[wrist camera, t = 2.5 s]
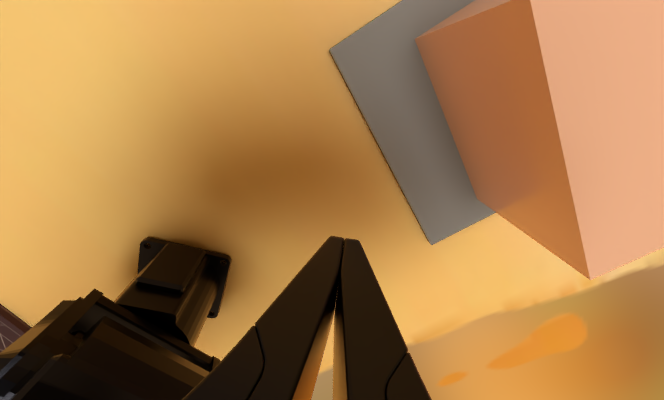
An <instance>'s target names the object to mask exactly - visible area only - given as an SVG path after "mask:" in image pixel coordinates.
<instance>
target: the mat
mask: <svg viewBox="0 0 664 400" xmlns="http://www.w3.org/2000/svg"><path fill="white" fill-rule="evenodd" d="M473 1H475V0H402V1H401V2H399V3H398V4H396V5H395V6H393V7H392V8H390V9H389V10H387V11H386V12H384V13H383V14H381V15H380V16H378V17H377V18H375V19H374V20H372V21H371V22H369V23H368V24H366V25H365V26H363V27H362V28H360V29H359V30H358V31H356V32H355V33H353V34H352V35H350V36H349V37H347V38H346V39H344V40H343V41H341V42H340V43H338V44H337V45H335V46H334V47H332V48H331V49H329V52H330V54H331V55H332V57H333V59H334V61H335V63H336V65H337V67H338V69H339V71H340V73H341V75H342V77H343V78H344V80H345V82H346V84H347V86H348V88H349V90H350V92H351V94H352V96H353V98H354V100H355V101H356V103H357V105H358V107H359V109H360V111H361V113H362V115H363V117H364V119H365V121H366V123H367V124H368V126H369V128H370V130H371V132H372V134H373V136H374V138H375V140H376V142H377V144H378V146H379V147H380V149H381V151H382V153H383V155H384V157H385V159H386V161H387V163H388V165H389V167H390V169H391V170H392V172H393V174H394V176H395V178H396V180H397V182H398V184H399V186H400V188H401V190H402V192H403V193H404V195H405V197H406V199H407V201H408V203H409V205H410V207H411V209H412V211H413V213H414V215H415V216H416V218H417V220H418V222H419V224H420V226H421V228H422V230H423V232H424V234H425V236H426V238H427V239H428V241H429V243H430V244H431V245H433V244H435V243H437V242H439V241H441V240H443V239H445V238H447V237H449V236H451V235H453V234H455V233H457V232H459V231H461V230H463V229H465V228H467V227H468V226H470V225H472V224H474V223H476V222H478V221H480V220H482V219H484V218H486V217H488V216H490V215H492V214H494V213H496V212H495V211H493V210H492V209H491V208H489V207H488V206H486V205H485V204H484V203H482V202H481V201H479V200H478V199H477V197H476V195H475V192H474V190H473V187H472V185H471V182H470V179H469V177H468V174H467V172H466V169H465V167H464V164H463V162H462V159H461V156H460V154H459V151H458V149H457V146H456V144H455V141H454V139H453V136H452V133H451V131H450V128H449V126H448V123H447V121H446V118H445V116H444V113H443V110H442V108H441V105H440V103H439V100H438V98H437V95H436V93H435V90H434V87H433V85H432V82H431V80H430V77H429V75H428V72H427V70H426V67H425V65H424V62H423V59H422V57H421V54H420V52H419V49H418V47H417V44H416V42H415V38H417V37H418V36H420V35H421V34H423V33H425V32H426V31H428V30H429V29H431V28H432V27H434V26H435V25H437V24H439V23H440V22H442V21H443V20H445V19H446V18H448V17H449V16H451V15H453V14H454V13H456V12H457V11H459V10H460V9H462V8H463V7H465V6H467V5H468V4H470V3H471V2H473Z"/></svg>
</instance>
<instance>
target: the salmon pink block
mask: <svg viewBox="0 0 664 400" xmlns="http://www.w3.org/2000/svg"><path fill="white" fill-rule="evenodd" d="M415 42H416V44H417V47H418V49H419V52H420V54H421V57H422V59H423V62H424V65H425V67H426V70H427V72H428V75H429V77H430V80H431V82H432V85H433V87H434V90H435V93H436V95H437V98H438V100H439V103H440V105H441V108H442V110H443V113H444V116H445V118H446V121H447V123H448V126H449V128H450V131H451V133H452V136H453V139H454V141H455V144H456V146H457V149H458V151H459V154H460V156H461V159H462V162H463V164H464V167H465V169H466V172H467V174H468V177H469V179H470V182H471V185H472V187H473V190H474V192H475V195H476V197H477V199H478V200H479V201H481V202H482V203H484V204H485V205H486V206H488V207H489V208H491V209H492V210H493V211H495V212H496V213H498V214H499V215H500V216H502V217H503V218H505V219H506V220H507V221H509V222H510V223H512V224H513V225H514V226H516V227H517V228H519V229H520V230H521V231H523V232H524V233H525V234H527V235H528V236H530V237H531V238H532V239H534V240H535V241H537V242H538V243H539V244H541V245H542V246H544V247H545V248H546V249H548V250H549V251H551V252H552V253H553V254H555V255H556V256H558V257H559V258H560V259H562V260H563V261H565V262H566V263H567V264H569V265H570V266H572V267H573V268H574V269H576V270H577V271H579V272H580V273H581V274H583V275H584V276H586V277H587V278H588V279H590V280H591V279H594V278H596V277H598V276H601V275H603V274H605V273H607V272H610V271H612V270H614V269H616V268H619V267H621V266H623V265H625V264H628V263H630V262H632V261H634V260H637V259H639V258H641V257H643V256H646V255H648V254H650V253H652V252H655V251H657V250H659V249H661V248H664V0H475V1H473V2H471V3H470V4H468V5H467V6H465V7H463V8H462V9H460V10H459V11H457V12H456V13H454V14H453V15H451V16H449V17H448V18H446V19H445V20H443V21H442V22H440V23H439V24H437V25H435V26H434V27H432V28H431V29H429V30H428V31H426V32H425V33H423V34H421V35H420V36H418V37H417V38H415Z"/></svg>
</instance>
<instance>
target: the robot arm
mask: <svg viewBox="0 0 664 400" xmlns="http://www.w3.org/2000/svg"><path fill="white" fill-rule="evenodd" d="M147 243H149V244H150V245H151V246H149V245H148V244H147ZM343 246H344V247H343ZM222 260H224V261H226V263H224V262H222ZM230 265H231V258H230V257H229V256H227V255H224V254H220V253H215V252H211V251H207V250H203V249H198V248H194V247H190V246H185V245H181V244H177V243H172V242H168V241H164V240H159V239H155V238H150V237H148V238H145V239H144V240H143V241H142V242H141V244H140V252H139V264H138V275H137V276H136V277H135V279H134V280H133V281H132V282H131V283H130V284H129V285H128V286H127V288H126V289H125V290H124V291H123V292H122V293H121V294H120V295H119V297H118V298H117V299H116V300H115V301H114V302H113V301H112V300H110V299H108V298H106V297H104V296H103V293H102V292H100V291H98V290H96V289H94V290H93V291H92V292H91V293H90V294H88V295H87V296H86V297H85V298H84V299H83V298H81V297H79V298H78V299H77V300H76V301H62V302H61V303H60V304H59V305H58V306H57V307H55V308H54V309H53V310H52V311H51V312H50V313H49V314H48V315H46V316H45V317H44V318H43V319H42V320H41V321H40V322H38V323H37V324H36V325H35V326H34V327H32V328H31V329H30V330H29V331H27V332H26V333H25V334H24V335H22V336H21V337H20V338H18V339H17V340H16V341H15V342H13V343H12V344H11V345H9V346H8V347H7V348H6V349H4V350H3V351H2V352H1V353H0V400H311V398H312V394H313V391H314V387H315V383H316V380H317V376H318V372H319V368H320V365H321V361H322V357H323V353H324V350H325V346H326V342H327V339H328V335H329V331H330V327H331V324H332V320H333V315H334V310H335V316H334V359H333V400H432V399H431V397H430V395H429V393H428V391H427V389H426V387H425V385H424V383H423V381H422V379H421V377H420V375H419V372H418V371H417V368H416V366H415V364H414V361H413V359H412V357H411V355H410V353H407V352H408V348H407V346H406V344H405V342H404V339H403V337H402V335H401V333H400V330H399V328H398V326H397V324H396V322H395V319H394V317H393V315H392V313H391V310H390V308H389V306H388V304H387V301H386V299H385V297H384V295H383V292H382V290H381V288H380V286H379V284H378V281H377V279H376V277H375V275H374V272H373V270H372V268H371V266H370V263H369V261H368V259H367V257H366V254H365V252H364V250H363V248H362V246H361V243H360V241H359V240H356V239H349V238H346V239H345V240H344V238H342V237H335V236H330V237H329V238H328V239H327V240H326V242H325V243H324V244H323V245H322V246H321V247H320V248H319V250H318V251H317V252H316V253H315V254H314V255H313V257H312V258H311V259H310V260H309V261H308V262H307V264H306V265H305V266H304V267H303V268H302V269H301V271H300V272H299V273H298V274H297V275H296V276H295V278H294V279H293V280H292V281H291V282H290V283H289V285H288V286H287V287H286V288H285V289H284V290H283V292H282V293H281V294H280V295H279V296H278V297H277V298H276V300H275V301H274V302H273V303H272V304H271V305H270V307H269V308H268V309H267V310H266V311H265V312H264V314H263V315H262V316H261V317H260V318H259V319H258V321H257V322H256V323H255V326H252V327H251V329H250V330H249V331H248V332H247V333H246V334H245V335H244V337H243V338H242V339H241V340H240V341H239V342H238V343H237V345H236V346H235V347H234V348H233V349H232V350H231V351H230V352H229V353H228V354H227V356H226V357H225V358H224V359H223V360H222V361H221V362H220V360H219V359H217V358H216V357H214V356H213V357H210V356H209V355H207V354H205V353H203V352H202V351H200V350H198V349H196V348H195V347H194V345H195V343H196V341H197V338H198V336H199V334H200V331H201V329H202V327H203V325H204V322H205V320H206V318H207V317H208V318H215V317H217V315H218V313H219V310H220V306H221V301H222V297H223V293H224V289H225V285H226V281H227V277H228V273H229V269H230ZM338 282H339V283H338ZM336 297H337V298H336ZM335 304H336V306H335Z"/></svg>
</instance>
